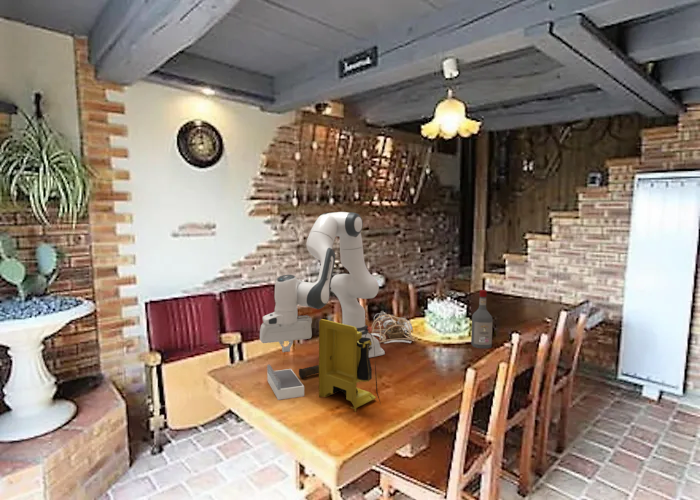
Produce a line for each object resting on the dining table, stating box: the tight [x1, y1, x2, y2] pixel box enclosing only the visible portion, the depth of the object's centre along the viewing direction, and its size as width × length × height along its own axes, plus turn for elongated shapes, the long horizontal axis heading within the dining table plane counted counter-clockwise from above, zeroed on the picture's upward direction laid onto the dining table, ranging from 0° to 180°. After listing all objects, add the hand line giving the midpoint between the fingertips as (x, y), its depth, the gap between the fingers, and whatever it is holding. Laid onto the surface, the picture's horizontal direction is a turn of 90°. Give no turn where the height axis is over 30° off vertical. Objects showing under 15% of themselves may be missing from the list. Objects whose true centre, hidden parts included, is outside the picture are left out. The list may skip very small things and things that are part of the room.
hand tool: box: [298, 364, 319, 379], centre depth 189 cm, size 19×4×5 cm, turn 126°
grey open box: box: [266, 364, 305, 401], centre depth 174 cm, size 10×20×7 cm, turn 22°
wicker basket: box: [369, 310, 415, 344], centre depth 244 cm, size 28×35×16 cm
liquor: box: [470, 289, 494, 349], centre depth 228 cm, size 9×9×30 cm
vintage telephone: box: [318, 318, 382, 412], centre depth 163 cm, size 31×14×30 cm, turn 48°
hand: (286, 351), depth 173 cm, fingers closed
